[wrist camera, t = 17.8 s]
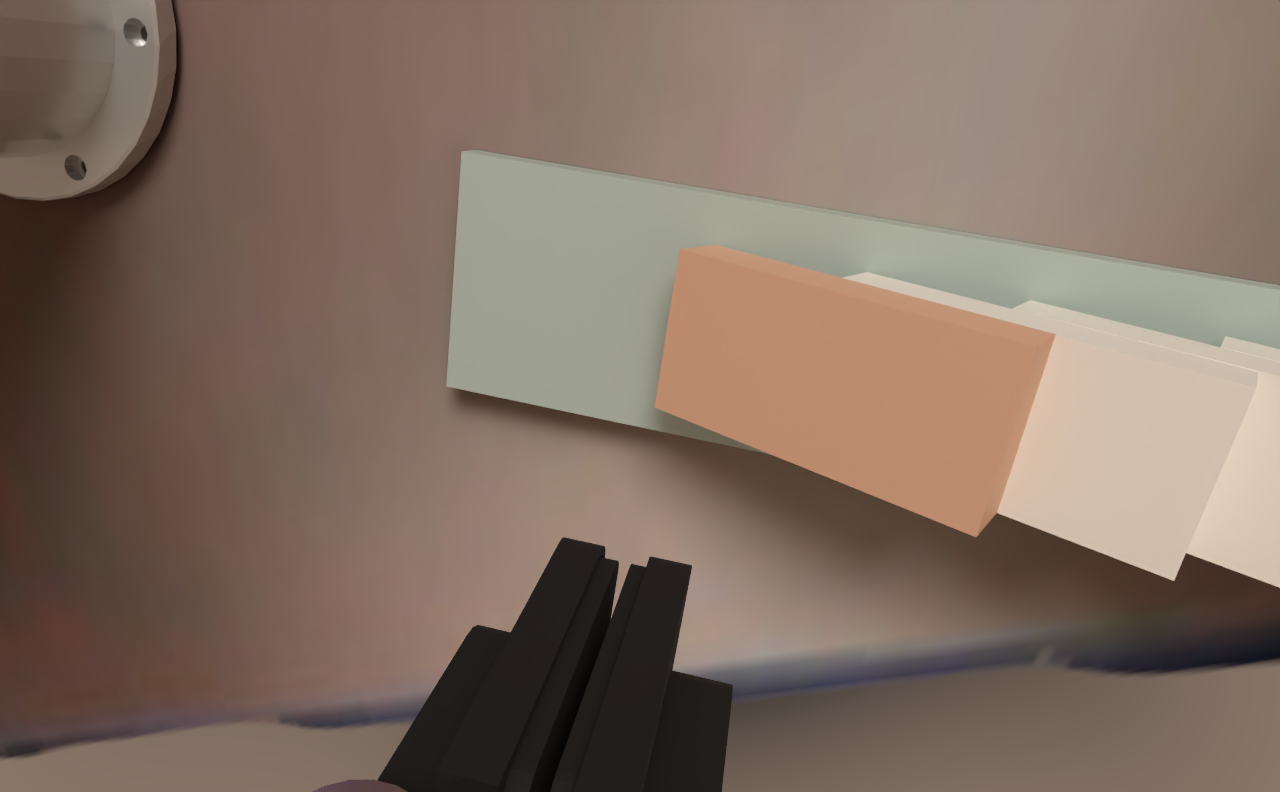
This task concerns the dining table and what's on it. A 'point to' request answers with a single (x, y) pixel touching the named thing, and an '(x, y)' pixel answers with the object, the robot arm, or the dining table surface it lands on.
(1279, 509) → the domino
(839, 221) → the board
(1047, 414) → the domino
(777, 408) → the domino
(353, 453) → the dining table surface
